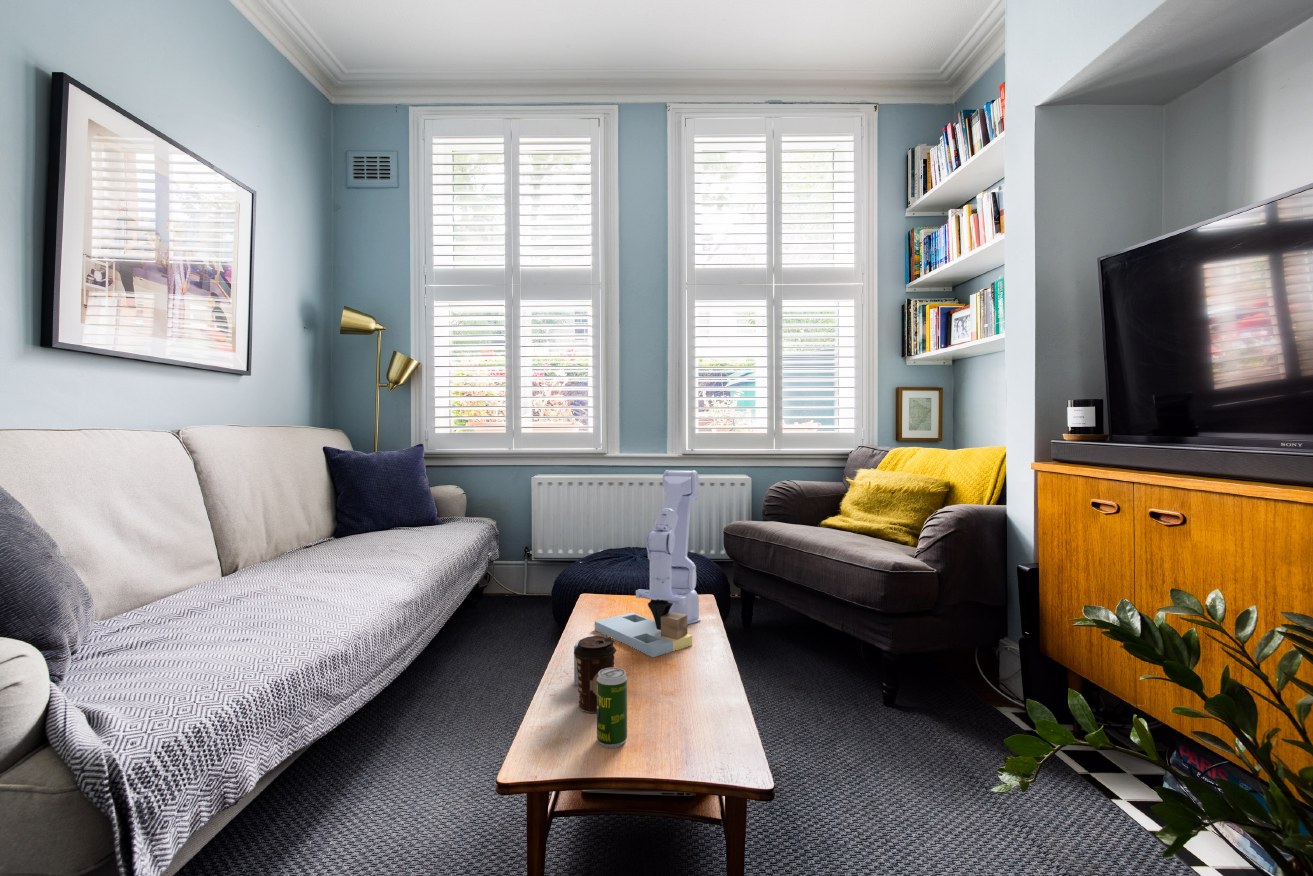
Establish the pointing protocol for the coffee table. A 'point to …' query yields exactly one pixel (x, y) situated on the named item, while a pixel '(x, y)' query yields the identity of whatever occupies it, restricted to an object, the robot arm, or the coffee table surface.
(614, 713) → the green drink can
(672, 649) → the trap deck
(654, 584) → the robot arm
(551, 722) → the coffee table surface
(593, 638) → the coffee cup
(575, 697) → the coffee table surface
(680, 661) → the coffee table surface
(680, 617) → the walnut cube
